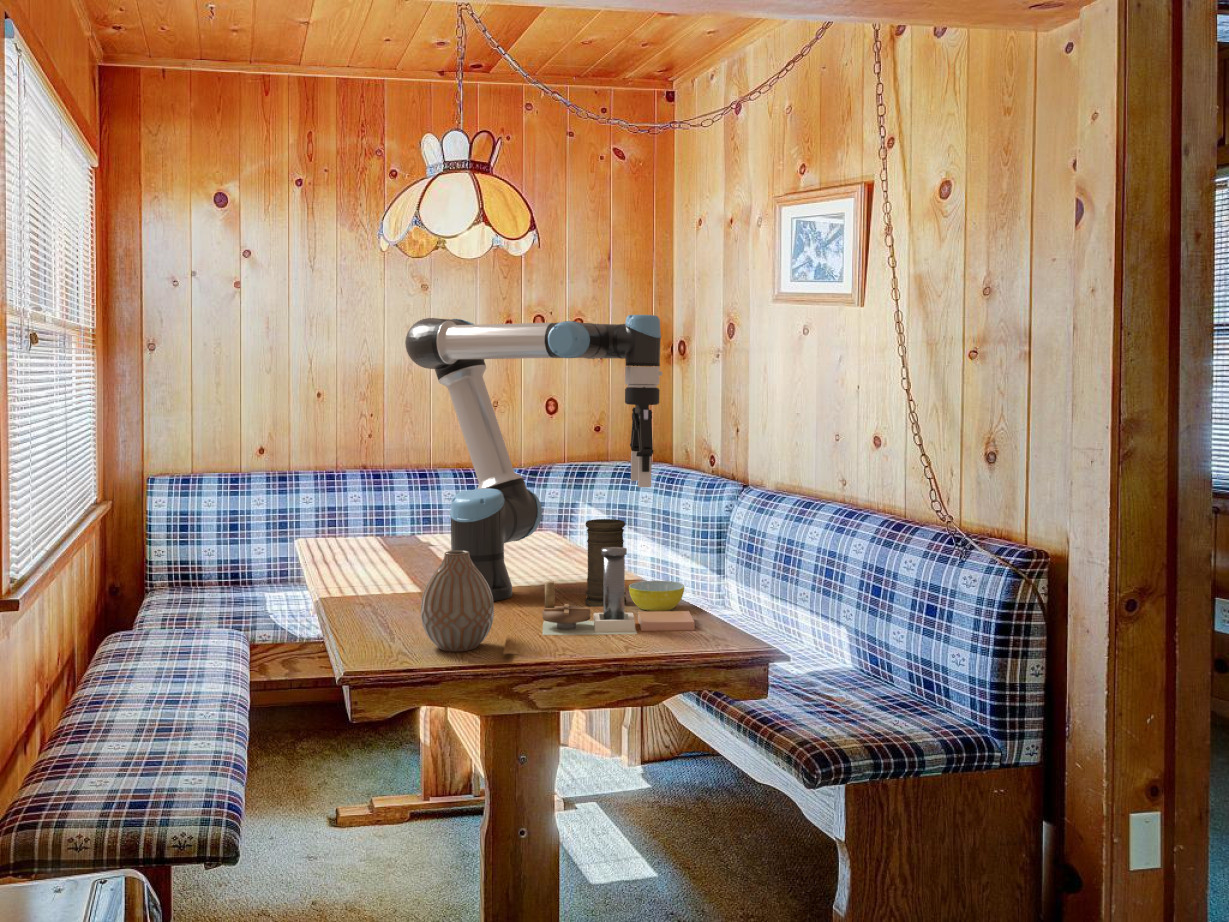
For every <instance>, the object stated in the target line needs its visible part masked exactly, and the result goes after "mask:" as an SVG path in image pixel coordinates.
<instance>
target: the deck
mask: <svg viewBox="0 0 1229 922" xmlns="http://www.w3.org/2000/svg"><path fill="white" fill-rule="evenodd" d="M541 633H542V634H541V635H542V636H582V635H583V636H584V635H585V636H586V635H587V636H588V635H589V636H591V635H593V636H595V635H598V636H600V635H602V636H603V635H604V636H605V635H606V636H607V635H637V634H638V631H637V629H636V620H635V615H634V613H633V612H625V620H604V612H593V620H587V621H584V622H578V623H553V622H548V621H545V620H543V622H542V632H541Z"/></svg>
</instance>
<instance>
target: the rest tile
mask: <svg viewBox="0 0 1229 922" xmlns="http://www.w3.org/2000/svg"><path fill="white" fill-rule="evenodd" d="M637 621H638V624H639V627H640V630H641V631H643V632H644V631H646V632H647V631H650V632H651V631H695V620H694V618H693V616H692V614H691V612H690V611H689V610H687V611H686V610H685V611H684V610H681V611H680V610H672V611H671V610H668V611H637Z"/></svg>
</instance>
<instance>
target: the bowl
mask: <svg viewBox="0 0 1229 922" xmlns="http://www.w3.org/2000/svg"><path fill="white" fill-rule="evenodd" d="M628 592H629V596H630V597H631V600H632V601H633V603H634V604H635V605H636V606H637V607H638V608H639V609H640V610H643V611H645V612H653V611H671V610H673V609H674V608H676V607H677V606H678V605H679V603H680V602H681V601H682V598H683V596H684V592H685V584H683V583H681V582H678V581H669V580H644V581H636V582H634V583H630V584H629V585H628Z"/></svg>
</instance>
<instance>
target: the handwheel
mask: <svg viewBox="0 0 1229 922" xmlns="http://www.w3.org/2000/svg"><path fill="white" fill-rule="evenodd" d="M542 620H543V621H548V622H553V623H578V622H584V621H590V620H591V609H590V608H589V607H584V606H581V605H570V604H569V603H563V605H556V606H555V582H554V581H546V582H545V581H544V608H543V610H542Z"/></svg>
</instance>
